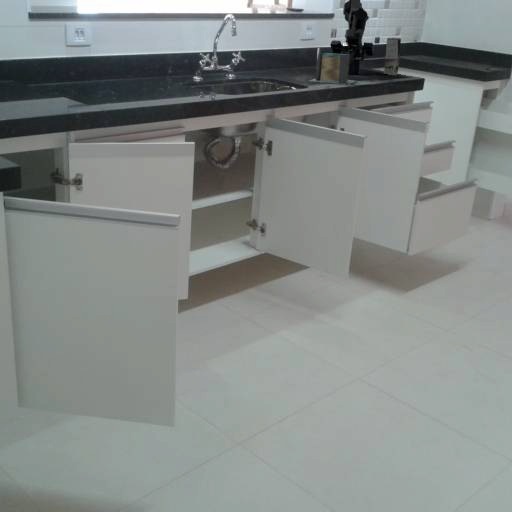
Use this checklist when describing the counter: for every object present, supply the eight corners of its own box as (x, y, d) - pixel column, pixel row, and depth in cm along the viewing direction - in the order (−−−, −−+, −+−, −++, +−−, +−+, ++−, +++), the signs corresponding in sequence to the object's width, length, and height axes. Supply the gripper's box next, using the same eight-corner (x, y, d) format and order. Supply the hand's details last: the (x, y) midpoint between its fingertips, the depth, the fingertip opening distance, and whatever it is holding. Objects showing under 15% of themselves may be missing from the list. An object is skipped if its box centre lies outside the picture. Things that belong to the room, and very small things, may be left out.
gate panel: (320, 79, 306) (322, 53, 302) (321, 79, 307) (323, 52, 303) (346, 81, 302) (348, 54, 298) (347, 81, 303) (349, 54, 299)
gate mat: (309, 81, 306) (309, 80, 306) (317, 78, 315) (317, 77, 315) (349, 85, 299) (349, 83, 299) (356, 81, 309) (356, 80, 309)
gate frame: (314, 81, 307) (316, 47, 301) (317, 81, 309) (318, 47, 303) (344, 84, 300) (347, 50, 295) (347, 84, 302) (349, 49, 297)
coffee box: (397, 75, 332) (401, 39, 326) (383, 74, 333) (386, 38, 327) (398, 73, 340) (401, 37, 334) (384, 72, 341) (387, 37, 335)
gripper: (333, 21, 311) (323, 49, 306) (374, 23, 304) (366, 52, 299) (337, 38, 321) (328, 66, 316) (377, 40, 314) (369, 69, 309)
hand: (347, 63), depth 310 cm, fingers closed
